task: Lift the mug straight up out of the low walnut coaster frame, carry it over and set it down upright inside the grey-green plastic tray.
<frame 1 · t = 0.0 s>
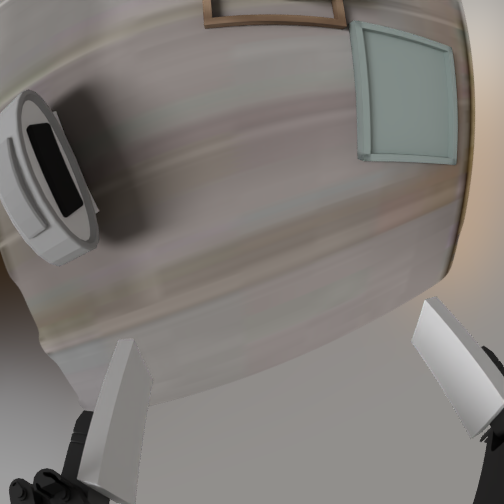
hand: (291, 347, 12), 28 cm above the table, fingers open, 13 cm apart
alarm clock: (65, 167, 32), on the table
tray: (408, 95, 32), on the table
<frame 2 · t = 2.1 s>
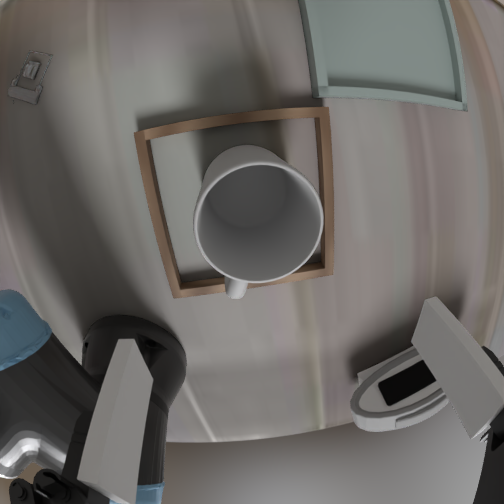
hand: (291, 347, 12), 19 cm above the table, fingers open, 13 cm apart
alarm clock: (399, 359, 43), on the table
tray: (387, 28, 20), on the table
mug: (242, 203, 28), resting in coaster frame
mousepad: (38, 105, 21), on the table
coaster frame: (242, 203, 28), on the table
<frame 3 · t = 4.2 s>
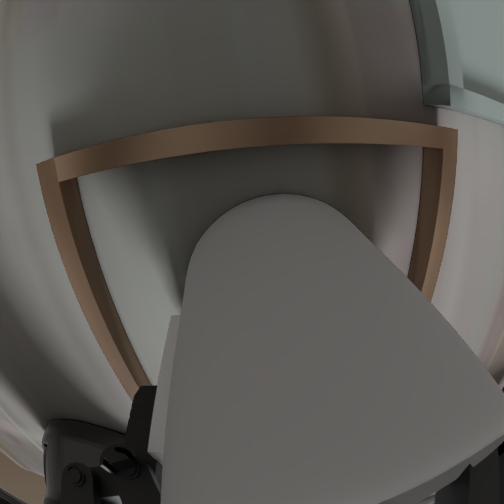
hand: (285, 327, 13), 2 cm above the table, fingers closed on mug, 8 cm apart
mug: (267, 306, 14), resting in coaster frame, touching gripper
coaster frame: (270, 308, 14), on the table
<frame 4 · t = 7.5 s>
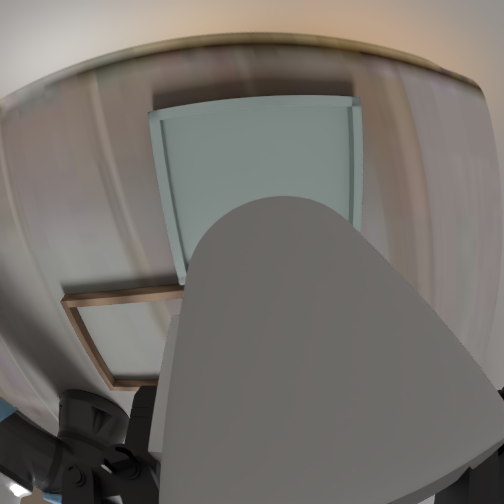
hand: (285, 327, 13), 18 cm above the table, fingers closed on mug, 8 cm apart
tray: (263, 186, 28), on the table
mug: (267, 308, 14), point 16 cm above the table, touching gripper
coaster frame: (142, 344, 36), on the table
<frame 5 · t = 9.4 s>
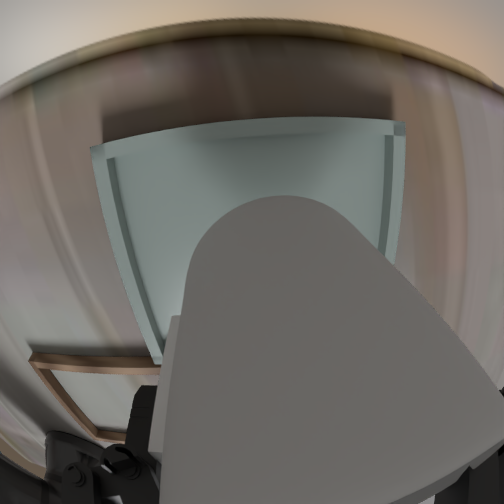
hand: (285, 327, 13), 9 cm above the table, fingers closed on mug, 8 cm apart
tray: (261, 248, 20), on the table
mug: (267, 307, 14), point 7 cm above the table, touching gripper
coaster frame: (122, 405, 28), on the table
when the fingers open (4 cm above the table, at t = 10.7 s): mug drops 2 cm, resting on tray.
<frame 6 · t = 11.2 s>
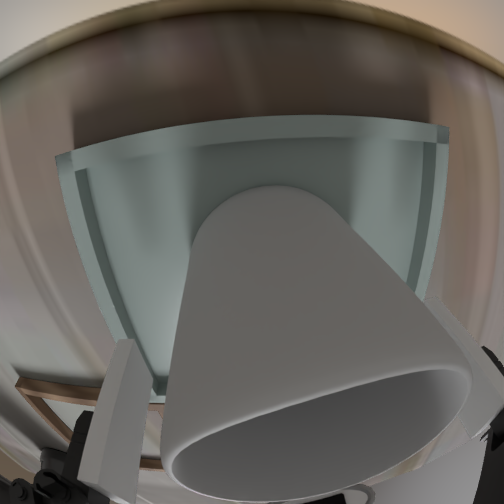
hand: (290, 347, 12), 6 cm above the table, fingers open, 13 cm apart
alarm clock: (308, 486, 39), on the table
tray: (271, 278, 17), on the table
mug: (262, 286, 16), point 1 cm above the table, touching tray
coaster frame: (117, 432, 24), on the table
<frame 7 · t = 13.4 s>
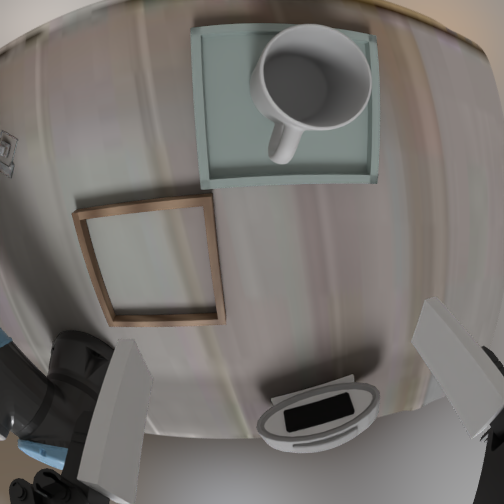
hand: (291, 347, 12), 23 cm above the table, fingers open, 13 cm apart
alarm clock: (313, 391, 51), on the table
tray: (289, 102, 27), on the table
mug: (284, 102, 27), point 1 cm above the table, touching tray
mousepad: (13, 177, 28), on the table
coaster frame: (151, 266, 35), on the table
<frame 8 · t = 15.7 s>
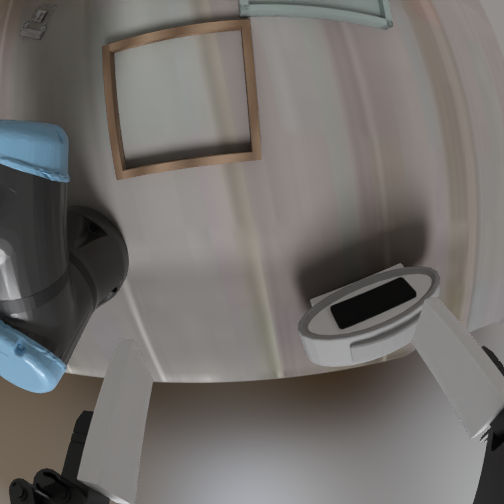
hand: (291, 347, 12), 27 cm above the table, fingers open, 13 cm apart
alarm clock: (358, 290, 44), on the table
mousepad: (41, 40, 22), on the table
coaster frame: (179, 95, 29), on the table
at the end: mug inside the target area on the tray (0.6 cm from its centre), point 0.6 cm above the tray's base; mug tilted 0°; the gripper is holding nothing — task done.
